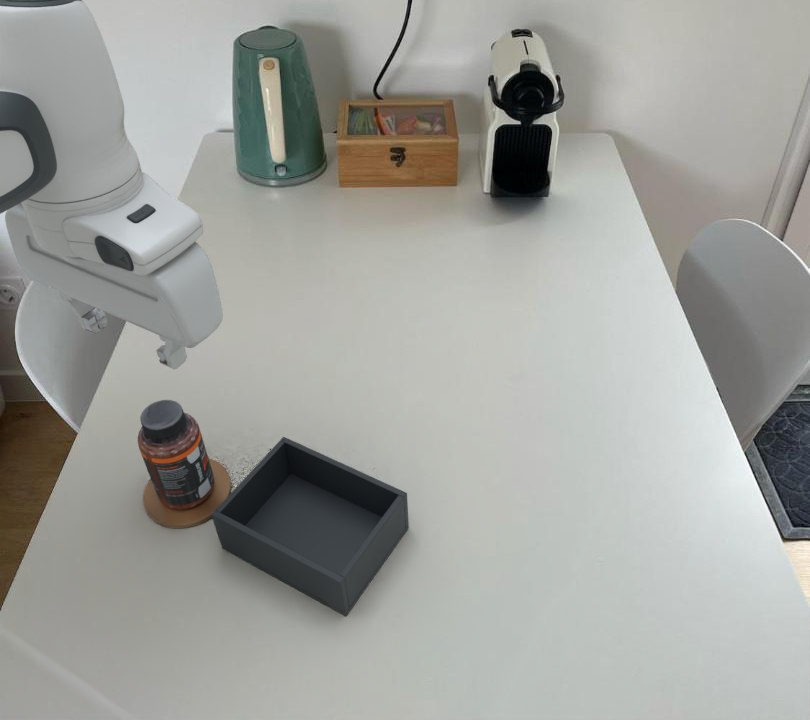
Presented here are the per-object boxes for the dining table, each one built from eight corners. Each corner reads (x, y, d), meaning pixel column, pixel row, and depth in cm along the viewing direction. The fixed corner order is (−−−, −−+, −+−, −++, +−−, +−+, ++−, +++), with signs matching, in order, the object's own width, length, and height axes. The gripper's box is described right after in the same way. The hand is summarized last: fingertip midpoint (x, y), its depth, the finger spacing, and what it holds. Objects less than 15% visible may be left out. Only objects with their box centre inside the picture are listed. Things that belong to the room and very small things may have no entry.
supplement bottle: (225, 494, 84) (203, 419, 76) (171, 522, 81) (142, 447, 74) (201, 458, 87) (178, 383, 80) (149, 483, 85) (120, 409, 77)
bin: (346, 616, 74) (340, 583, 70) (221, 549, 79) (210, 514, 76) (409, 527, 81) (407, 492, 77) (290, 471, 86) (283, 436, 83)
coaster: (191, 542, 80) (190, 538, 80) (126, 506, 84) (124, 502, 83) (249, 480, 86) (248, 476, 85) (185, 448, 89) (184, 444, 89)
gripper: (-35, 191, 63) (24, 327, 73) (157, 265, 55) (196, 408, 65) (30, 157, 67) (78, 290, 77) (218, 221, 59) (247, 361, 69)
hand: (134, 344), depth 71 cm, fingers open, 8 cm apart
